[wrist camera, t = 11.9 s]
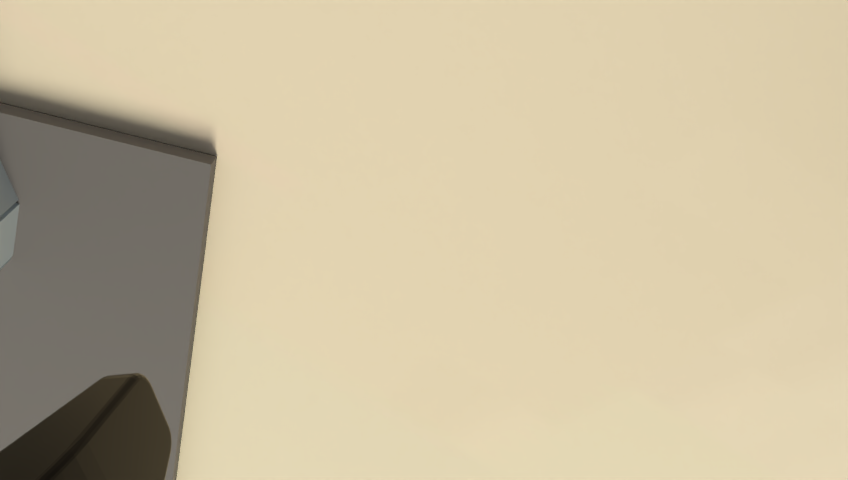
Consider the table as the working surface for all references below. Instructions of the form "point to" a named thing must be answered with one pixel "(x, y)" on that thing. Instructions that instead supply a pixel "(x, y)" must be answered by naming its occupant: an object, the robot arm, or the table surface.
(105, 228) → the mat
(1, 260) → the cover
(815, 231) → the table surface
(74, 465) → the robot arm
